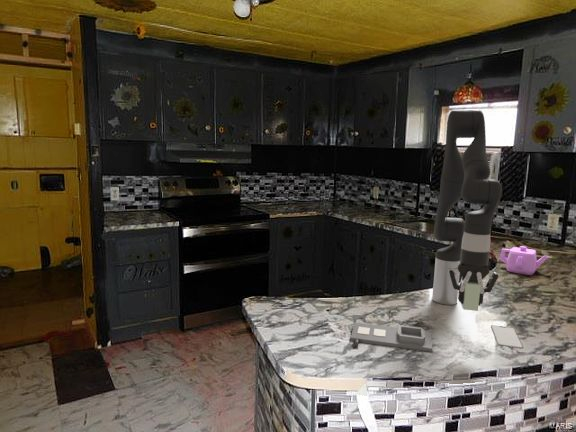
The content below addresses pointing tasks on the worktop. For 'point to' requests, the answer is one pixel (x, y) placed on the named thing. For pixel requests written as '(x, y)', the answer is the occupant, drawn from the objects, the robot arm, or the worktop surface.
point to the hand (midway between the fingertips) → (469, 303)
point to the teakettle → (521, 260)
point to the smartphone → (506, 336)
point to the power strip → (392, 336)
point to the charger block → (471, 296)
